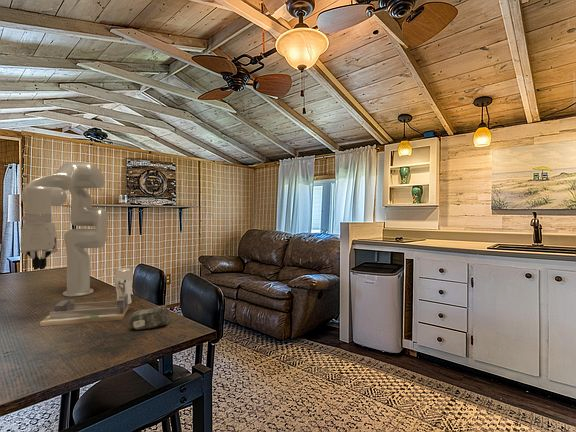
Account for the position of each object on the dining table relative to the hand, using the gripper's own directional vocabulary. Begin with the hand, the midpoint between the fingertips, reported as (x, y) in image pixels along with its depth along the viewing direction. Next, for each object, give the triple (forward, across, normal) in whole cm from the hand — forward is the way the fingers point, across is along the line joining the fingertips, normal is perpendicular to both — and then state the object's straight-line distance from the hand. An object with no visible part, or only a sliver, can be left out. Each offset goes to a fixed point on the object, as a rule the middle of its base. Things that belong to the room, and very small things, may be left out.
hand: (39, 268), depth 122 cm
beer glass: (+19, +26, +15) cm, 36 cm away
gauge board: (+19, +16, 0) cm, 25 cm away
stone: (+19, +40, -19) cm, 48 cm away
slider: (+17, +8, -2) cm, 19 cm away
